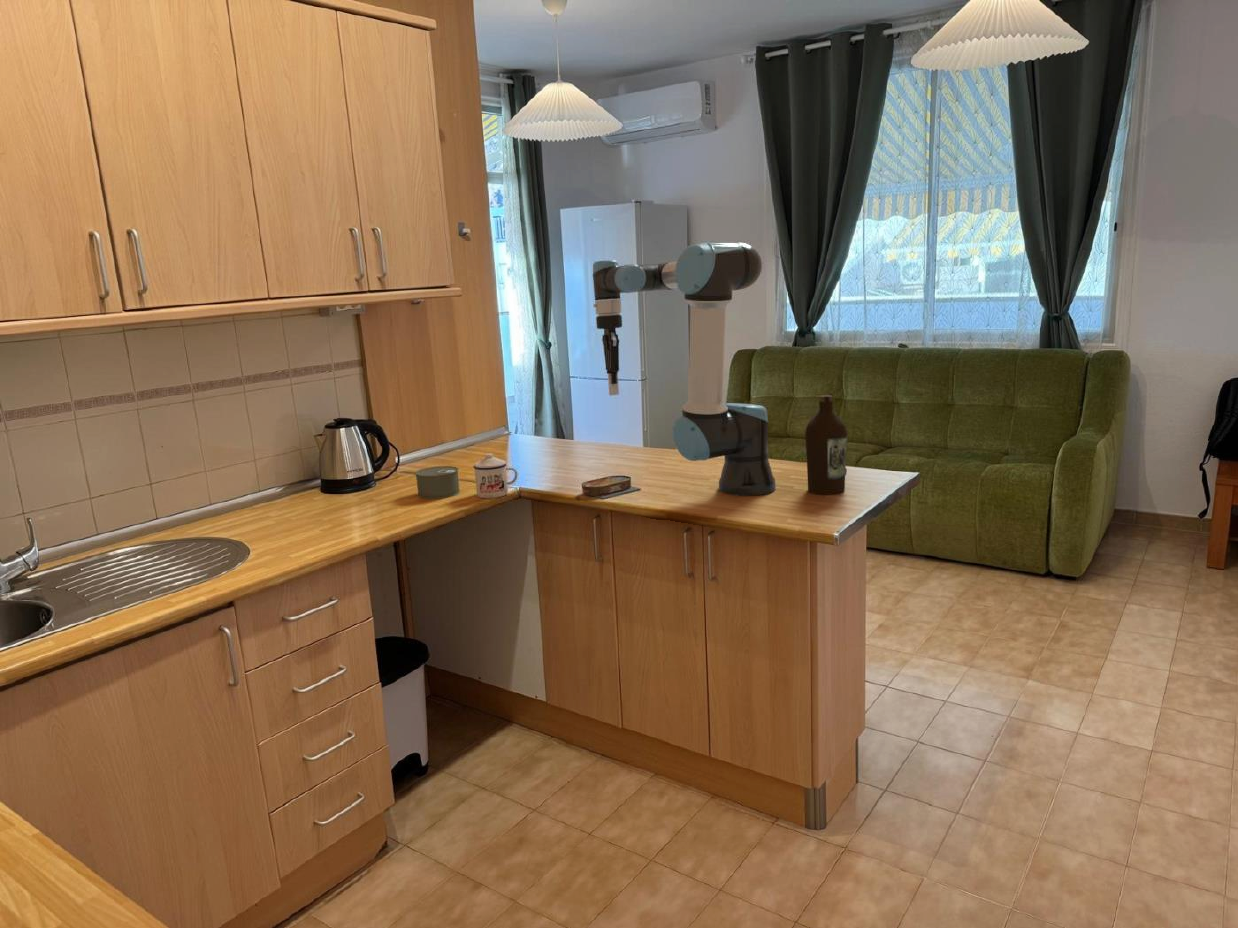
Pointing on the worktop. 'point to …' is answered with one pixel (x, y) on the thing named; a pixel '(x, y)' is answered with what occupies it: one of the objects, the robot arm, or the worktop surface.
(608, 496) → the mat
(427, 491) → the can
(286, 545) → the worktop surface
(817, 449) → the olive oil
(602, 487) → the tin
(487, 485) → the teacup with lid
